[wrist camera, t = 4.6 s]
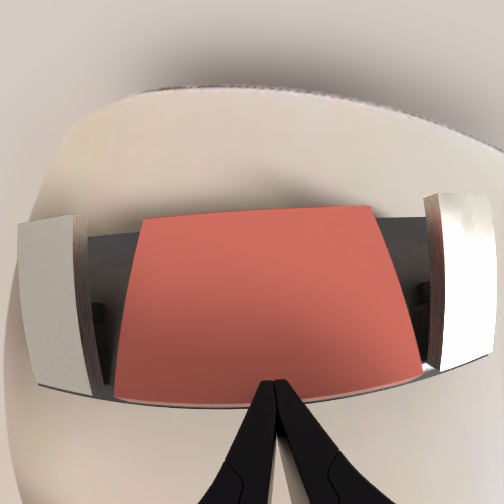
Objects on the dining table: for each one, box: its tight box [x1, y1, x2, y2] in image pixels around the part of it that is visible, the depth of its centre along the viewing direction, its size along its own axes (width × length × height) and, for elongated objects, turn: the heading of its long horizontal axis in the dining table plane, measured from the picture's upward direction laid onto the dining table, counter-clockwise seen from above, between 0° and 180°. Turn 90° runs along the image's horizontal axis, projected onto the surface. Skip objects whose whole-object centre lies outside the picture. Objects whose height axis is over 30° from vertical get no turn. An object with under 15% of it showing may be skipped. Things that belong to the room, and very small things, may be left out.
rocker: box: [114, 206, 424, 407], centre depth 12 cm, size 9×12×1 cm
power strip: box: [18, 193, 497, 409], centre depth 15 cm, size 10×35×10 cm, turn 93°
